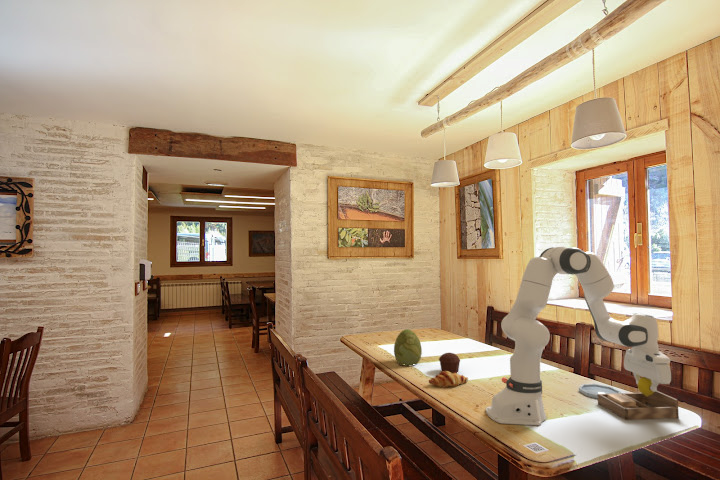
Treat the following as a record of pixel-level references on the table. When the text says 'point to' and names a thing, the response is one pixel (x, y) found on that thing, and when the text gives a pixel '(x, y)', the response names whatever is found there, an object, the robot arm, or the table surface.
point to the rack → (643, 406)
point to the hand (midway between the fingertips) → (646, 387)
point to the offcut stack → (622, 400)
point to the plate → (596, 390)
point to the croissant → (448, 379)
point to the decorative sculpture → (407, 348)
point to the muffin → (449, 362)
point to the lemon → (645, 386)
